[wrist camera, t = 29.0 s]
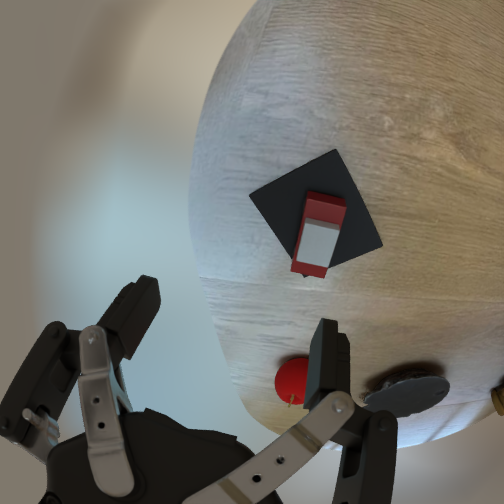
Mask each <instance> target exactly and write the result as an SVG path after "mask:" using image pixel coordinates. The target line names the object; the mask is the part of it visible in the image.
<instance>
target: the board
mask: <svg viewBox="0 0 504 504" xmlns="http://www.w3.org/2000/svg"><path fill="white" fill-rule="evenodd" d="M449 388H450V383H449V382H448V381H447V380H446V379H445V378H443V377H440V376H438V375H436V374H434V373H431V372H430V371H427V370H425V369H422V368H421V369H413V370H412V369H411V370H409V369H408V370H405V371H402V372H400V373H396V374H394V375H390V376H388V377H386V378H384V379H383V381H380V383H379V384H378V385H377V386H376V389H374V390H373V391H371V392H369V393H368V394H367V395H366V396H365V398H364V402H363V403H365V404H368V405H366V406H364V407H362V408H364V409H367V410H369V411H371V412H374V413H375V412H377V411H380V410H387V411H390V412H391V413H393V414H394V416H395V417H396V418H399V417H408V416H410V415H411V414H415V413H420V412H422V411H424V410H427V409H429V408H431V407H433V406H434V405H436V404H438V403H440V401H442V400H443V398H444V397H445V396H446V395H447V394H448V392H449Z"/></svg>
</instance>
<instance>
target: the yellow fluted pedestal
mask: <svg viewBox="0 0 504 504" xmlns="http://www.w3.org/2000/svg"><path fill="white" fill-rule="evenodd" d="M491 397H492V402H493V404H494V407H495V409H496V411H497V413H498V414H499V415H500V416H503V415H504V387H503V389H502V390H500V391H498V392H497V391H496V390H493V391H492V393H491Z"/></svg>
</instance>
